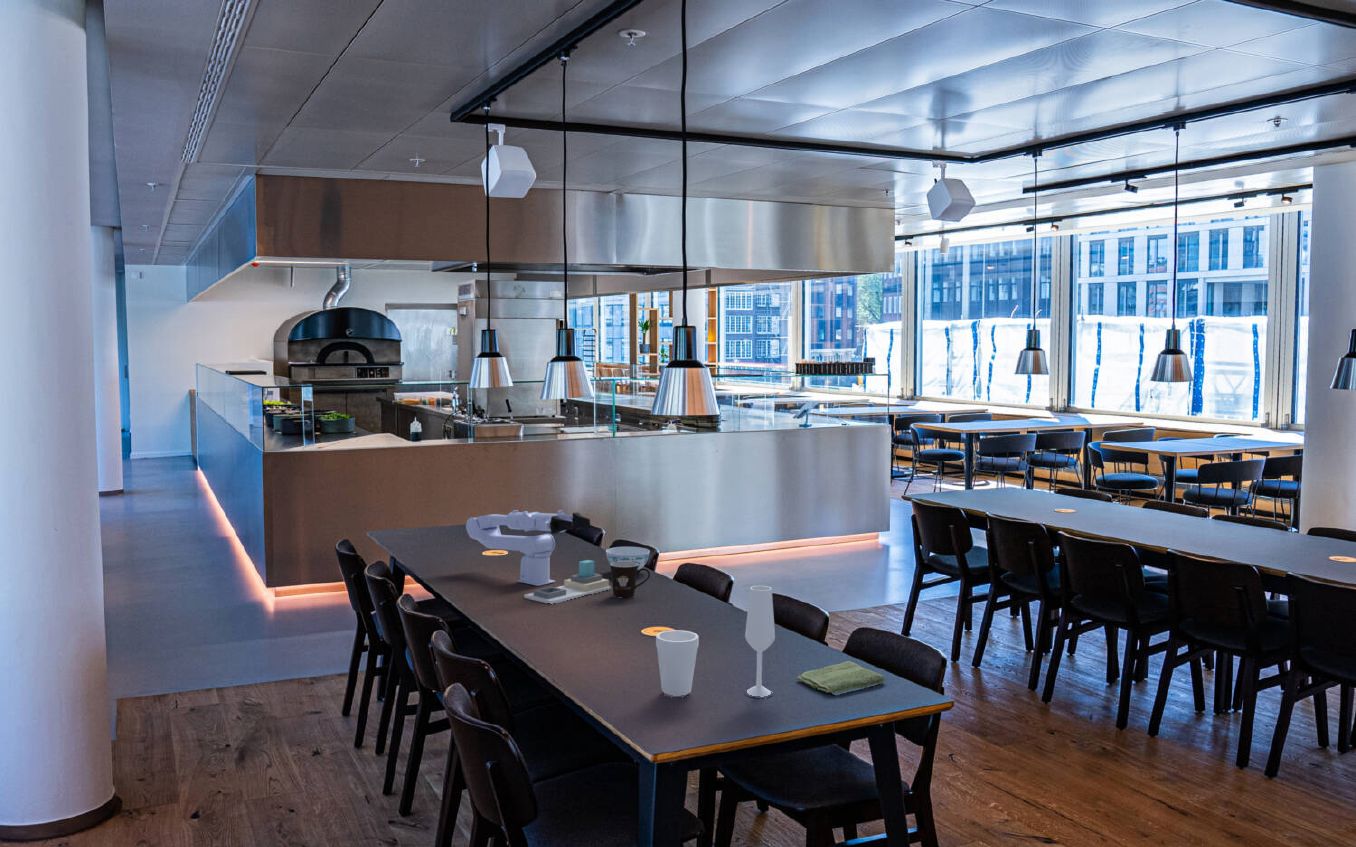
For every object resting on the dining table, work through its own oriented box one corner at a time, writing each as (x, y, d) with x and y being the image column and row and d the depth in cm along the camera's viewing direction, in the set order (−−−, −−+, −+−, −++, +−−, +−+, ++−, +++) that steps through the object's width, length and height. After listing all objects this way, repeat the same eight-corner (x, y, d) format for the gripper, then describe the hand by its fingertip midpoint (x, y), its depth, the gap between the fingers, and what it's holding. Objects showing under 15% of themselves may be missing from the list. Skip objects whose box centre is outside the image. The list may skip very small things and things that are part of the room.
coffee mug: (604, 597, 316) (605, 565, 315) (619, 591, 324) (619, 560, 323) (637, 601, 311) (637, 569, 310) (651, 596, 318) (651, 564, 318)
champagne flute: (771, 688, 233) (774, 584, 231) (775, 698, 226) (778, 591, 224) (742, 688, 232) (744, 584, 231) (745, 698, 226) (747, 591, 224)
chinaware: (651, 569, 357) (652, 547, 357) (646, 578, 342) (646, 555, 342) (609, 567, 359) (609, 545, 358) (602, 577, 344) (602, 554, 343)
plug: (578, 580, 325) (579, 561, 325) (587, 578, 328) (587, 559, 328) (585, 581, 323) (585, 563, 323) (594, 579, 326) (594, 561, 326)
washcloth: (793, 683, 238) (793, 669, 238) (850, 671, 248) (850, 658, 248) (830, 699, 227) (831, 685, 227) (888, 686, 237) (889, 673, 236)
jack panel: (524, 597, 313) (524, 583, 313) (584, 583, 333) (584, 570, 333) (551, 604, 306) (551, 589, 305) (611, 589, 326) (611, 575, 326)
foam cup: (696, 686, 233) (697, 630, 233) (698, 700, 224) (699, 642, 223) (655, 686, 233) (655, 630, 232) (655, 700, 224) (656, 641, 223)
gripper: (533, 512, 323) (563, 513, 315) (566, 507, 335) (596, 508, 326) (534, 534, 324) (564, 536, 315) (567, 529, 335) (597, 530, 326)
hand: (580, 523), depth 320 cm, fingers open, 7 cm apart
